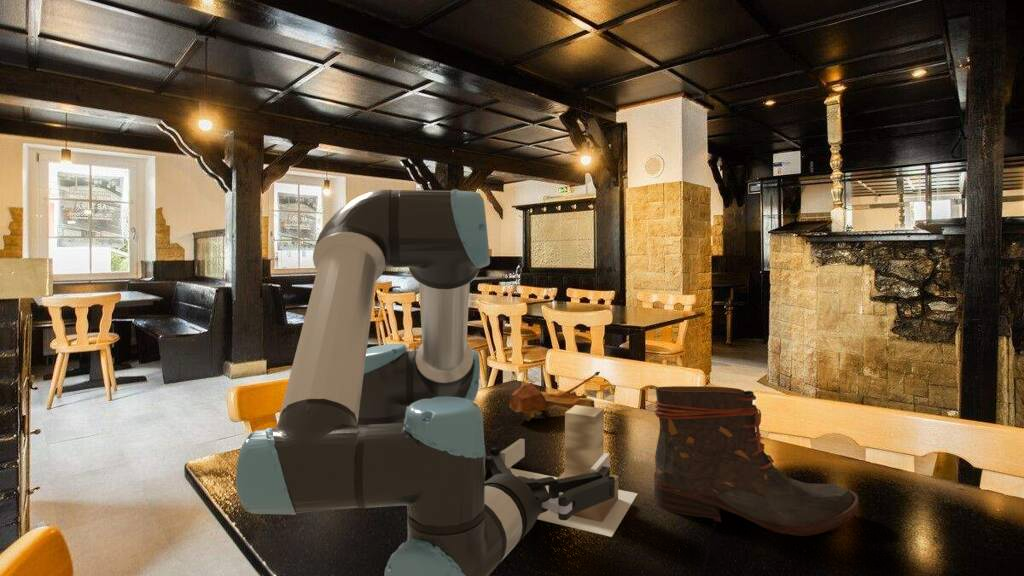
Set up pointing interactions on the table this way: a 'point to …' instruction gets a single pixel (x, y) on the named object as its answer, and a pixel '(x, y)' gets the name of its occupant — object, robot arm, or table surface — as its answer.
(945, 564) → the table surface
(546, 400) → the toy
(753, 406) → the ankle boot
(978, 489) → the table surface
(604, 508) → the plinth
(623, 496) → the white flat panel
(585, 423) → the column
